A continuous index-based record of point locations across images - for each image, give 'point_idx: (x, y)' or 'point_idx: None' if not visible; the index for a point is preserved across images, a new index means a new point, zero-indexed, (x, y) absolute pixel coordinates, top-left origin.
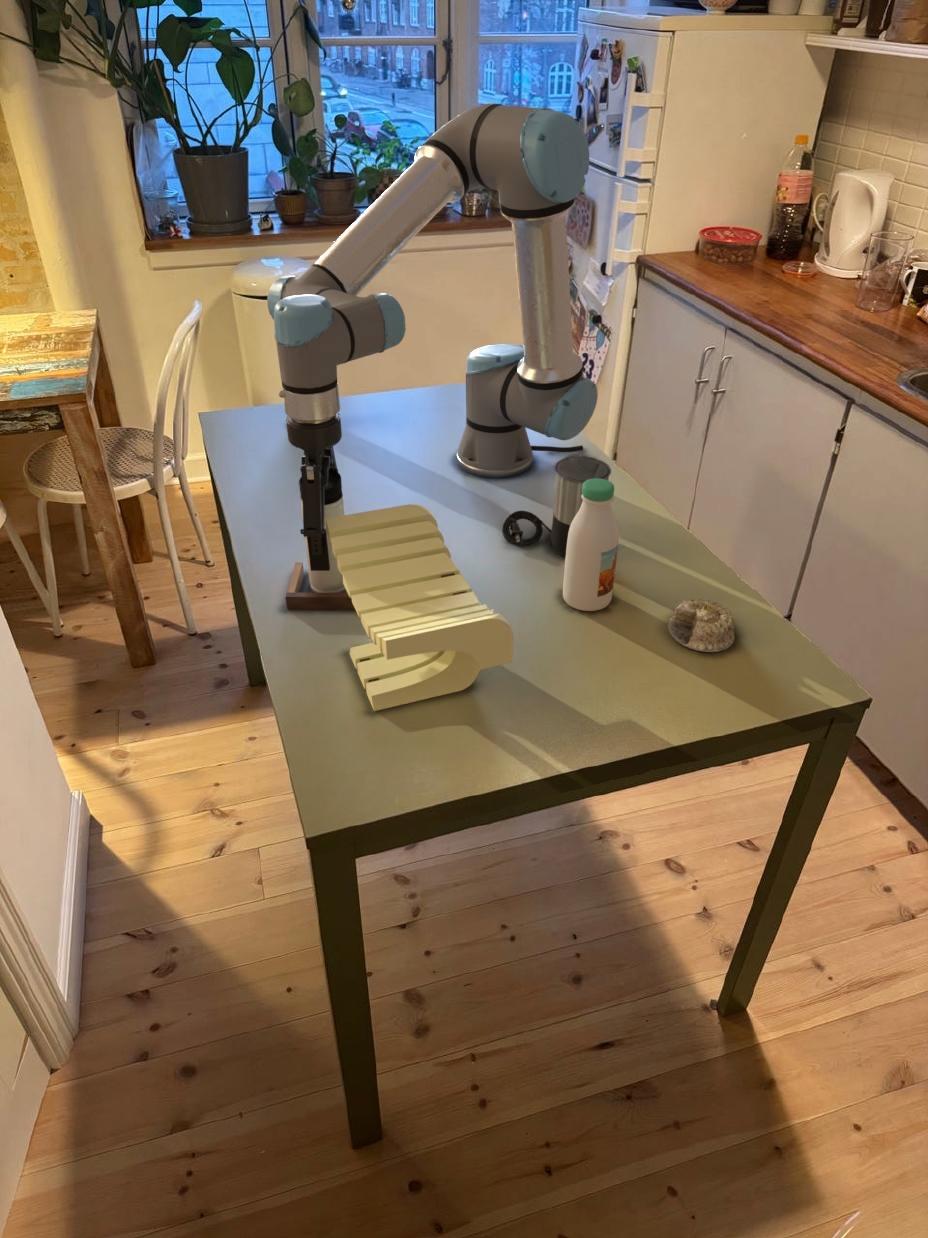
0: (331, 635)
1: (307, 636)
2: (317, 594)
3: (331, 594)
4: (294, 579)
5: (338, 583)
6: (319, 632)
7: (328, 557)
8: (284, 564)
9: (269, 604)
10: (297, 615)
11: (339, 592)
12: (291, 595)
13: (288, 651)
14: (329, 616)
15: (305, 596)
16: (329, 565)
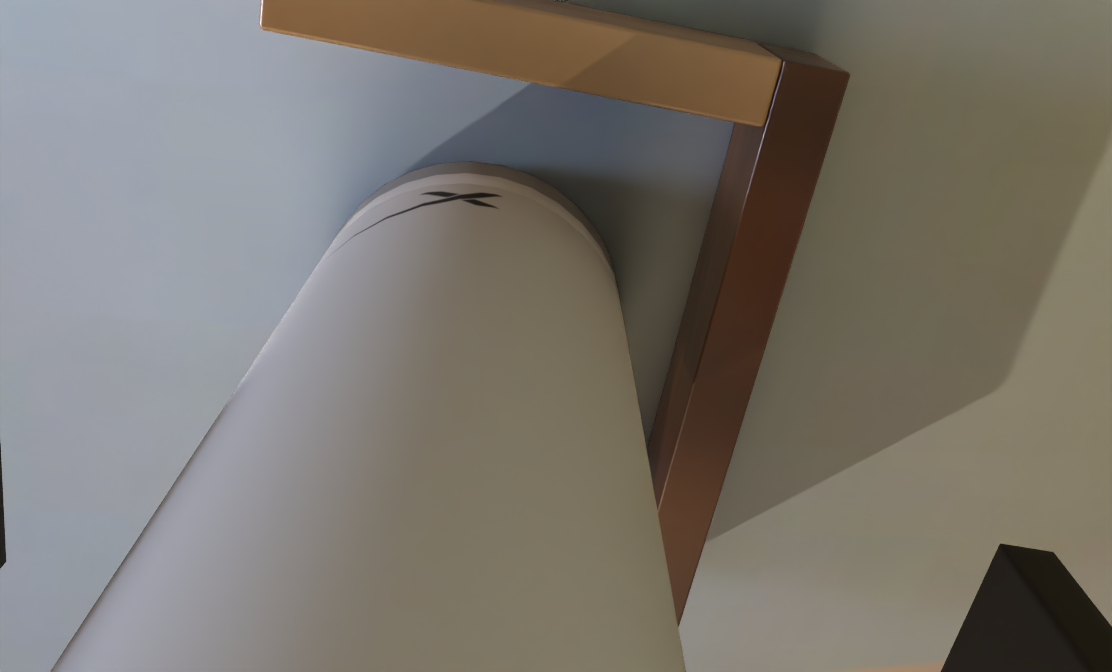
0: (1034, 331)
1: (986, 468)
2: (702, 444)
3: (730, 350)
4: None
5: (614, 295)
6: (971, 400)
7: (1104, 655)
8: (118, 567)
9: None
10: (740, 513)
11: (609, 263)
12: None
13: (1090, 568)
14: (811, 330)
15: (703, 519)
16: (1030, 571)
